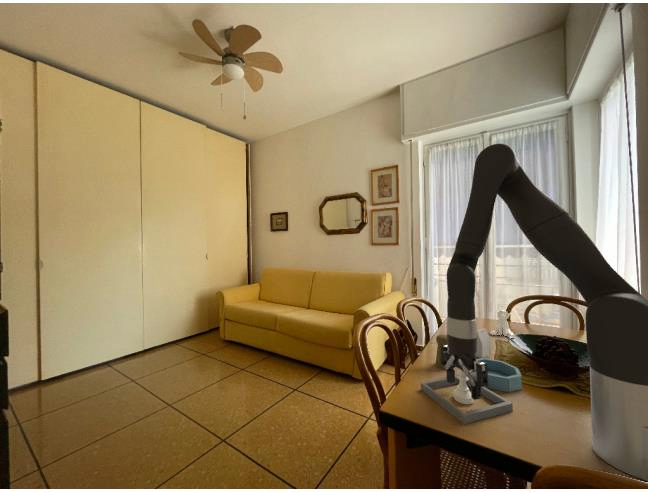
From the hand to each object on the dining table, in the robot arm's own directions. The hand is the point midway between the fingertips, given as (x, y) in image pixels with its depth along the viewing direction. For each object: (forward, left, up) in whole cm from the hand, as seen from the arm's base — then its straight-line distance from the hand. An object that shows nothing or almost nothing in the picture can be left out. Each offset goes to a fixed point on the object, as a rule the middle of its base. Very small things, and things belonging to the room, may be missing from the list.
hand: (462, 390), depth 71 cm
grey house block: (+21, -31, -3) cm, 37 cm away
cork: (+18, -10, -3) cm, 21 cm away
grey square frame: (0, 0, -3) cm, 3 cm away
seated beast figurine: (+35, -60, -3) cm, 69 cm away
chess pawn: (0, 0, -3) cm, 3 cm away
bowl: (+5, -18, -3) cm, 19 cm away
